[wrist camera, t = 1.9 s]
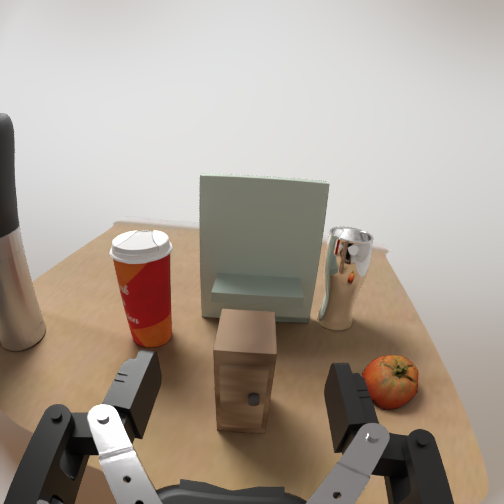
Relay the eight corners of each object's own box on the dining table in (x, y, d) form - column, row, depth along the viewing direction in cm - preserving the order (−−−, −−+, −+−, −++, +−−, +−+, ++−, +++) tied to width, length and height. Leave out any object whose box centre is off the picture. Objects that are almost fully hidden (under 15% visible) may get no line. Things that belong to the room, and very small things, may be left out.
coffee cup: (131, 318, 45) (118, 228, 39) (181, 319, 46) (175, 227, 40) (120, 352, 37) (99, 252, 31) (177, 354, 38) (167, 252, 32)
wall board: (195, 338, 42) (190, 182, 33) (206, 300, 51) (206, 170, 43) (313, 344, 42) (339, 192, 33) (304, 305, 51) (322, 177, 43)
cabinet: (215, 438, 26) (211, 359, 22) (222, 390, 33) (221, 308, 28) (264, 442, 26) (277, 364, 22) (264, 393, 33) (274, 311, 28)
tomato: (357, 402, 30) (380, 344, 31) (347, 395, 36) (367, 346, 38) (414, 419, 27) (435, 363, 29) (397, 410, 34) (415, 363, 36)
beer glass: (306, 321, 47) (320, 233, 41) (324, 304, 52) (338, 223, 46) (344, 338, 43) (366, 246, 37) (360, 317, 48) (379, 234, 42)
